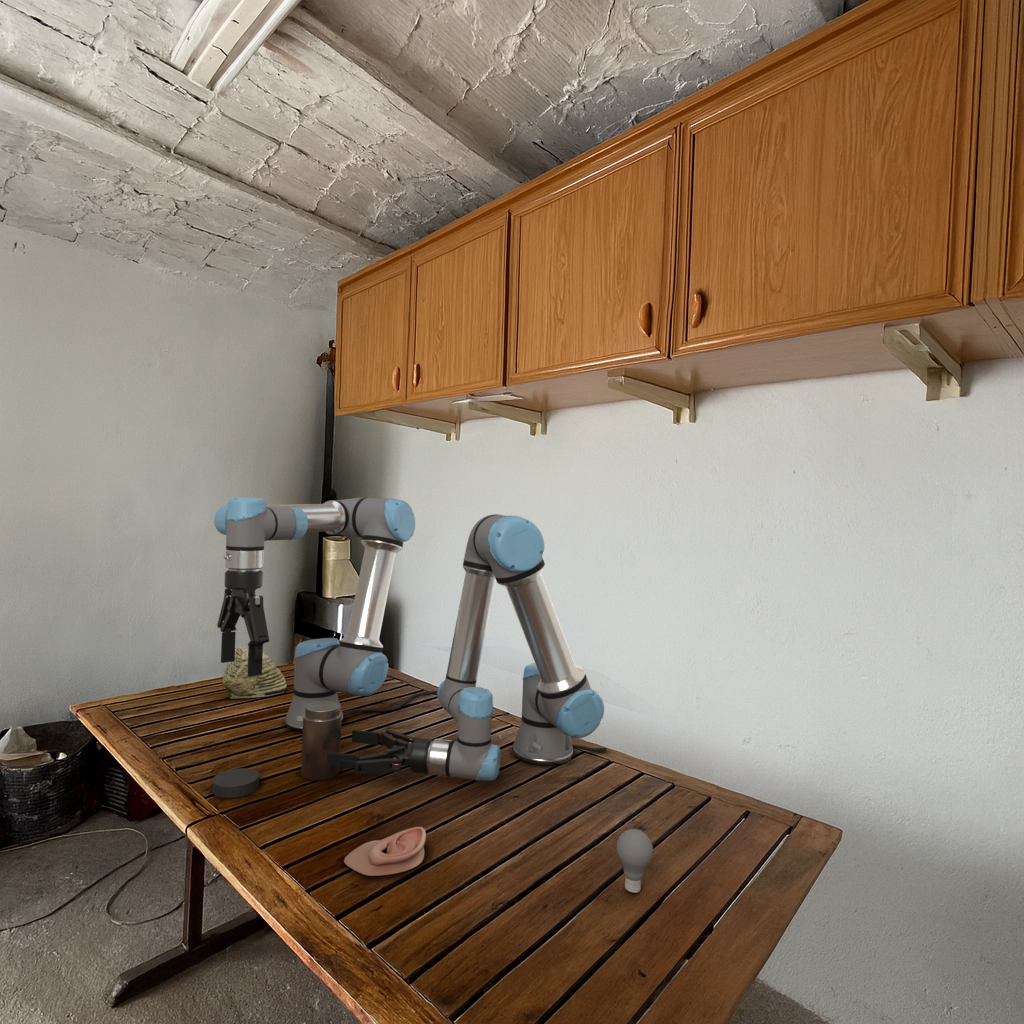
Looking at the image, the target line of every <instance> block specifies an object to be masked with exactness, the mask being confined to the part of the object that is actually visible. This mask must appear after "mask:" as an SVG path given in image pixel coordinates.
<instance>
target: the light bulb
mask: <svg viewBox="0 0 1024 1024" xmlns="http://www.w3.org/2000/svg"><path fill="white" fill-rule="evenodd" d="M615 849H616V854H617V857H618V859H619V861H620V863H621V865H622V867H623V873H624V874H623V875H624V876H625V878H624V888H625V890H627V891H628V892H630V893H634V894H635V893H639V892H640V891H641V889H642V887H641V886H642V879H643V877H644V875H645V871H646V868H647V867H648V866H649V864H650V863H651V861H652V859H653V855H654V847H653V843H652V841H651V838H649V836H648V835H647V834H646V833H645V832H643V831H642V830H641V829H636V828H629V829H627V830H625V831H623V832H622V833H621V834H620V835H619V837H618V839H617V841H616V847H615Z"/></svg>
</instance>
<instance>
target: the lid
mask: <svg viewBox="0 0 1024 1024" xmlns="http://www.w3.org/2000/svg"><path fill="white" fill-rule="evenodd" d="M259 786H260V773H259V771H257V770H256V769H253V768H248V767H246V768H245V767H240V768H231V769H227V770H224V771H222V772H219V773H218V774H216V775H214V776H213V778H212V780H211V793H212V795H214V796H216V797H218V798H223V799H233V798H241V797H244V796H247V795H251V794H252V793H253V792H255V791H257V790H258V788H259Z"/></svg>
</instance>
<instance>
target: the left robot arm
mask: <svg viewBox="0 0 1024 1024" xmlns="http://www.w3.org/2000/svg"><path fill="white" fill-rule="evenodd" d="M213 520H214V521H213V523H214V527H215V529H216V530H217V532H219V533H220V534H222V535H224V536H225V554H224V555H223V559H224V560H225V568H226V569H227V570H226V571H224V588H225V589H224V592H223V593H224V594H223V601H222V604H221V608H220V612H219V616H218V620H217V625H216V627H217V628H218V629H220V632H221V646H220V647H221V648H220V649H221V650H220V663H221V664H224V663H227V662H232V661H235V650H236V635H237V634H236V633H237V632H236V631H238V629H237V627H236V626H237V624H238V621H239V620H240V617H241V618H242V619H243V620H244V624H245V628H246V631H247V635H248V637H249V642H248V643H247V646H248V647H247V648H248V675H247V676H248V677H251V676H257V675H262V658H263V650H264V645H265V644H266V643H269V642H270V637H269V631H268V625H267V619H266V614H265V608H264V596H263V595H257V594H256V590H258V589H259V590H260V589H261V588H262V587H263V583H264V572H263V570H262V569H263V568H264V563H265V542H266V541H292V540H299V539H301V538H303V537H304V536H305V534H306V533H318V532H319V533H321V532H325V534H328V535H343V536H351V537H355V538H361V539H360V543H361V544H362V546H363V547H364V553H363V557H362V562H361V566H360V572H359V577H358V580H357V587H356V591H355V595H354V601H353V605H352V609H351V615H350V620H349V624H348V630H347V634H346V635H345V636H344V637H343V638H341V639H340V640H339V639H338V638H335V637H322V638H313V639H308V640H304V641H302V642H299V643H298V644H297V645H296V647H295V652H294V653H295V654H294V657H293V659H294V660H293V662H294V663H293V665H294V666H293V695H292V696H293V697H292V699H291V702H290V704H289V708H288V711H287V713H286V715H285V726H286V728H287V729H289V730H291V731H294V732H295V731H296V732H301V733H303V715H304V714H305V707H306V705H307V704H309V703H312V702H316V701H334V702H337V703H339V704H340V705H341V702H340V699H339V695H338V692H340V693H344V694H349V695H351V696H359V697H360V696H361V697H370V696H372V695H374V694H376V693H377V692H378V690H380V689H381V687H382V686H383V685H384V683H385V681H386V679H387V676H388V672H389V662H388V658H387V656H386V655H385V654H384V653H383V650H384V645H383V644H382V642H381V641H380V636H381V630H382V627H383V621H384V616H385V610H386V606H387V600H388V595H389V590H390V585H391V580H392V574H393V570H394V564H395V560H396V555H397V554H398V553H400V552H401V551H402V550H403V547H404V543H405V542H408V541H410V540H411V539H412V537H413V536H414V534H415V530H416V517H415V513H414V511H413V508H412V507H411V506H410V504H409V503H408V502H406V501H405V500H403V499H397V498H393V497H389V498H387V497H385V498H383V497H382V498H380V497H353V498H346V499H337V500H336V499H335V500H333V499H331V500H327V501H325V502H323V503H302V504H301V503H294V504H291V503H290V504H285V503H284V504H276V503H275V504H266V500H265V499H264V498H262V497H261V498H260V497H238V496H237V497H231V498H230V499H229V500H228V503H227V504H223V505H221V506H220V507H218V509H217V510H216V512H215V514H214V519H213ZM437 691H438V689H437V690H430V691H423V692H418V693H415V694H412V695H411V696H410V697H408V698H407V699H406V700H404V701H403V702H401V703H400V704H398V705H397V706H394V707H391V708H359V709H357V708H356V709H348V710H347V709H346V710H343V709H342V707H341V708H340V712H341V713H342V721H341V724H342V723H343V722H344V714H352V713H361V712H362V713H363V712H364V713H365V712H374V713H375V712H376V713H377V712H378V713H379V712H380V713H381V712H382V713H383V712H385V713H386V712H392V711H395V710H398V709H400V708H401V707H402V706H404V705H405V704H407V703H408V702H410V701H411V700H412V699H413V698H415V697H418V696H423V695H430V694H437Z"/></svg>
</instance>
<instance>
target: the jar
mask: <svg viewBox="0 0 1024 1024" xmlns="http://www.w3.org/2000/svg"><path fill="white" fill-rule="evenodd" d="M340 708H341V709H342V706H341V703H340V704H339V703H337V702H334V701H316V702H312V703H309V704H307V705H306V707H305V714H304V715H303V732H301V733H302V736H301V737H302V738H301V739H302V740H301V760H300V761H301V763H300V764H301V765H300V768H301V769H300V776H301V777H302V778H303V779H305V780H309V781H325V780H330V779H332V778H334V777H337V776H338V775H339V773H340V769H341V767H336V766H327V753H328V752H335V753H341V745H342V723H341V721H342V713H341V712H340Z"/></svg>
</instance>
